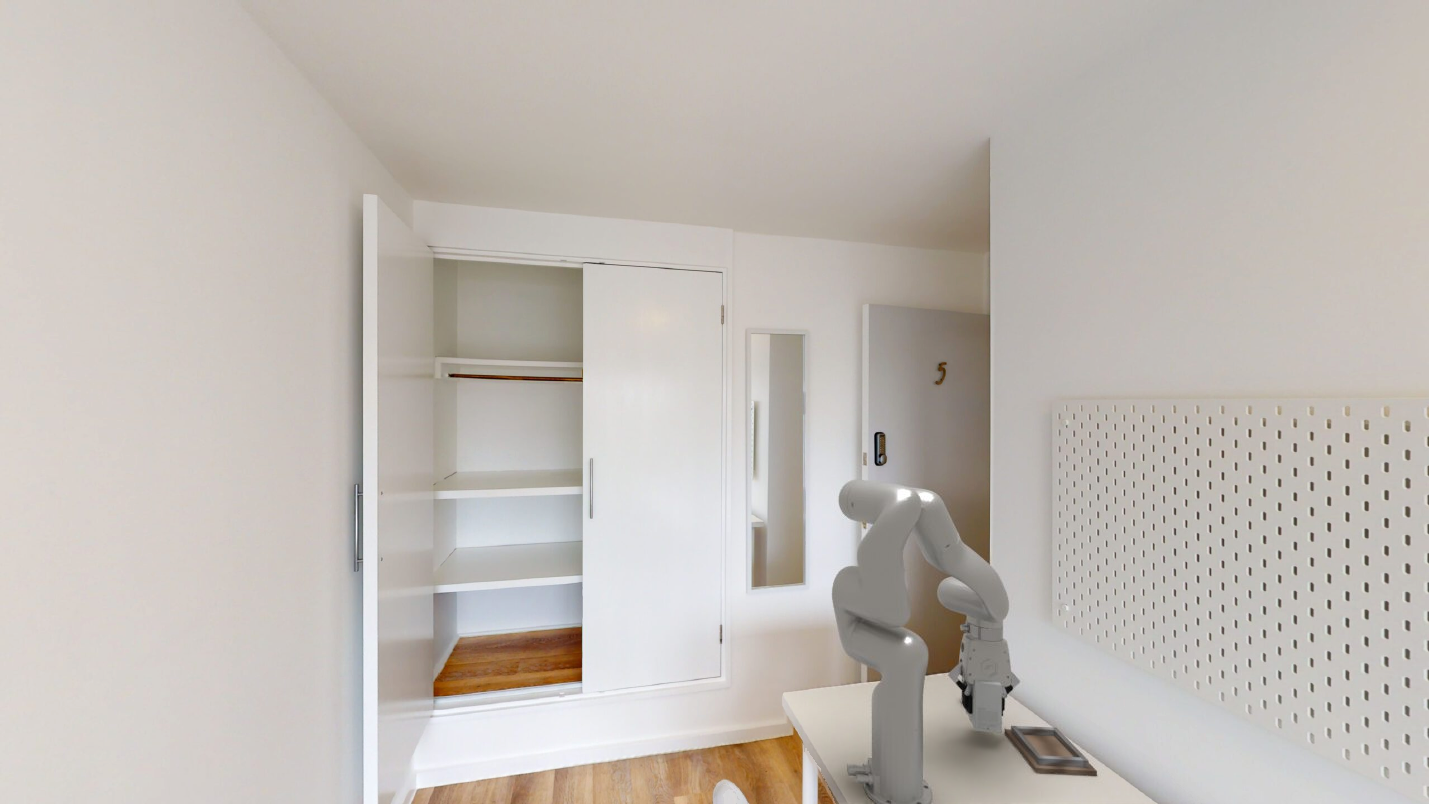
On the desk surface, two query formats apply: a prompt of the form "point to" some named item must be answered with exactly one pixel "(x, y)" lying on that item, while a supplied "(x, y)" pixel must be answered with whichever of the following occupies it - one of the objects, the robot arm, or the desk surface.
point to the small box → (987, 706)
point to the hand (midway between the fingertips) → (983, 711)
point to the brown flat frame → (1049, 751)
